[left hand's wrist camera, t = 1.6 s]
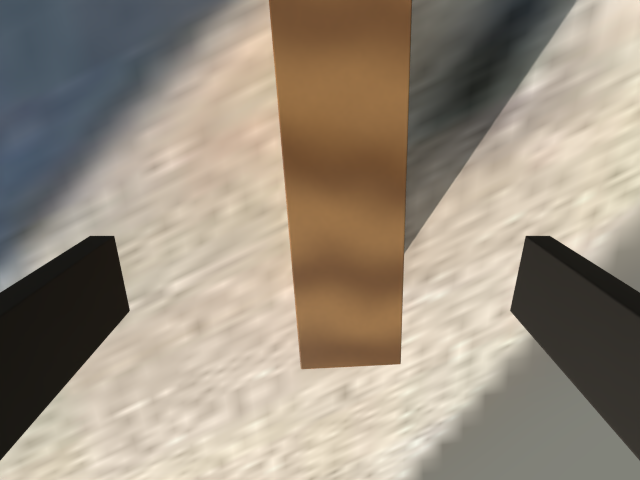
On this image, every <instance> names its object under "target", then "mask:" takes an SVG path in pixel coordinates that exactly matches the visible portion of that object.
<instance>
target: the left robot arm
mask: <svg viewBox="0 0 640 480" xmlns="http://www.w3.org/2000/svg"><path fill="white" fill-rule="evenodd" d="M129 311H130V310H129V305H128V300H127V295H126V290H125V286H124V281H123V276H122V271H121V266H120V262H119V257H118V252H117V247H116V242H115V238H114V236H89V237H88V238H86V239H85V240H83V241H81V242H80V243H78V244H77V245H75V246H73V247H72V248H70V249H69V250H67V251H66V252H64V253H62V254H61V255H59V256H58V257H56V258H54V259H53V260H51V261H50V262H48V263H47V264H45V265H43V266H42V267H40V268H39V269H37V270H35V271H34V272H32V273H31V274H29V275H28V276H26V277H24V278H23V279H21V280H20V281H18V282H16V283H15V284H13V285H12V286H10V287H9V288H7V289H5V290H4V291H2V292H1V293H0V460H1V459H2V458H3V457H4V456H5V454H6V453H7V452H8V451H9V450H10V449H11V447H12V446H13V445H14V444H15V443H16V442H17V440H18V439H19V438H20V437H21V436H22V435H23V434H24V432H25V431H26V430H27V429H28V428H29V427H30V425H31V424H32V423H33V422H34V421H35V420H36V419H37V417H38V416H39V415H40V414H41V413H42V412H43V410H44V409H45V408H46V407H47V406H48V405H49V404H50V402H51V401H52V400H53V399H54V398H55V397H56V395H57V394H58V393H59V392H60V391H61V390H62V388H63V387H64V386H65V385H66V384H67V383H68V382H69V380H70V379H71V378H72V377H73V376H74V375H75V373H76V372H77V371H78V370H79V369H80V368H81V367H82V365H83V364H84V363H85V362H86V361H87V360H88V358H89V357H90V356H91V355H92V354H93V353H94V352H95V350H96V349H97V348H98V347H99V346H100V345H101V343H102V342H103V341H104V340H105V339H106V338H107V336H108V335H109V334H110V333H111V332H112V331H113V330H114V328H115V327H116V326H117V325H118V324H119V323H120V321H121V320H122V319H123V318H124V317H125V316H126V315H127V313H128V312H129ZM510 311H511V312H512V313H513V315H514V316H515V317H516V318H517V319H518V320H519V321H520V323H521V324H522V325H523V326H524V327H525V328H526V330H527V331H528V332H529V333H530V334H531V335H532V336H533V338H534V339H535V340H536V341H537V342H538V343H539V345H540V346H541V347H542V348H543V349H544V350H545V352H546V353H547V354H548V355H549V356H550V357H551V358H552V360H553V361H554V362H555V363H556V364H557V365H558V367H559V368H560V369H561V370H562V371H563V372H564V373H565V375H566V376H567V377H568V378H569V379H570V380H571V381H572V383H573V384H574V385H575V386H576V387H577V388H578V390H579V391H580V392H581V393H582V394H583V395H584V397H585V398H586V399H587V400H588V401H589V402H590V404H591V405H592V406H593V407H594V408H595V409H596V410H597V412H598V413H599V414H600V415H601V416H602V417H603V419H604V420H605V421H606V422H607V423H608V424H609V425H610V427H611V428H612V429H613V430H614V431H615V432H616V434H617V435H618V436H619V437H620V438H621V439H622V440H623V442H624V443H625V444H626V445H627V446H628V447H629V449H630V450H631V451H632V452H633V453H634V454H635V455H636V457H637V458H638V459H639V460H640V293H639V292H638V291H636V290H635V289H633V288H631V287H630V286H628V285H627V284H625V283H624V282H622V281H620V280H619V279H617V278H616V277H614V276H612V275H611V274H609V273H608V272H606V271H605V270H603V269H601V268H600V267H598V266H597V265H595V264H593V263H592V262H590V261H589V260H587V259H586V258H584V257H582V256H581V255H579V254H578V253H576V252H574V251H573V250H571V249H570V248H568V247H567V246H565V245H563V244H562V243H560V242H559V241H557V240H555V239H554V238H552V237H551V236H526V238H525V242H524V247H523V252H522V257H521V262H520V266H519V271H518V276H517V281H516V286H515V290H514V295H513V300H512V305H511V310H510Z"/></svg>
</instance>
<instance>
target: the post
mask: <svg viewBox="0 0 640 480" xmlns="http://www.w3.org/2000/svg"><path fill="white" fill-rule="evenodd" d="M269 6H270V17H271V29H272V41H273V52H274V64H275V75H276V87H277V98H278V110H279V121H280V133H281V145H282V156H283V168H284V179H285V191H286V202H287V214H288V225H289V237H290V249H291V260H292V272H293V283H294V295H295V306H296V318H297V329H298V341H299V352H300V364H301V369H314V368H334V367H354V366H373V365H393V364H400V363H401V334H402V302H403V270H404V238H405V206H406V174H407V142H408V110H409V78H410V45H411V13H412V0H269Z"/></svg>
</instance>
